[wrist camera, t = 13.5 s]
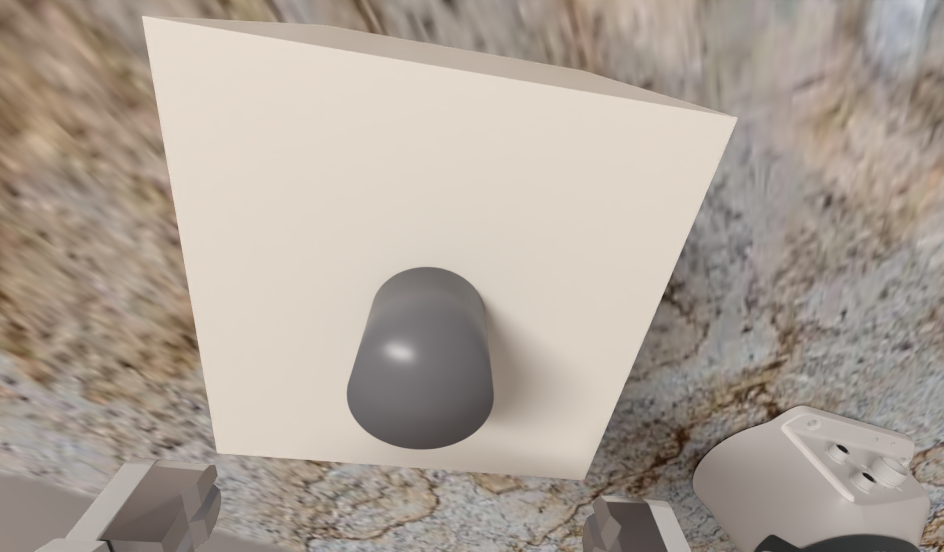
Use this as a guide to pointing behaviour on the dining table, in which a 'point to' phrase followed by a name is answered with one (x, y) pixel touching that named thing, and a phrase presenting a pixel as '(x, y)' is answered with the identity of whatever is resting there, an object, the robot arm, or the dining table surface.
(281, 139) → the cube with grey knob
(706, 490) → the robot arm
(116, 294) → the dining table surface
